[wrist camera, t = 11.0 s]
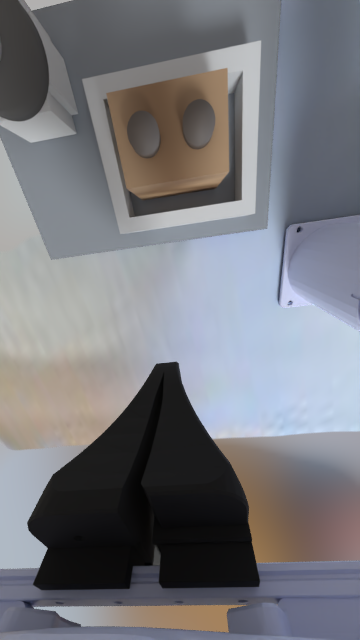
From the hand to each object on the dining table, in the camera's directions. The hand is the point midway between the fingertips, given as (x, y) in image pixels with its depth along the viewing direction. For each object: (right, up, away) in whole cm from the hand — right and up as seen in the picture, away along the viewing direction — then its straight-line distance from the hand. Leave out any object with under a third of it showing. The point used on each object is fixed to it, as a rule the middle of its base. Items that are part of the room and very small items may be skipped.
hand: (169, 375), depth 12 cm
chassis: (-3, +17, +3) cm, 17 cm away
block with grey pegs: (0, +16, +3) cm, 16 cm away
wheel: (-9, +19, +1) cm, 21 cm away
